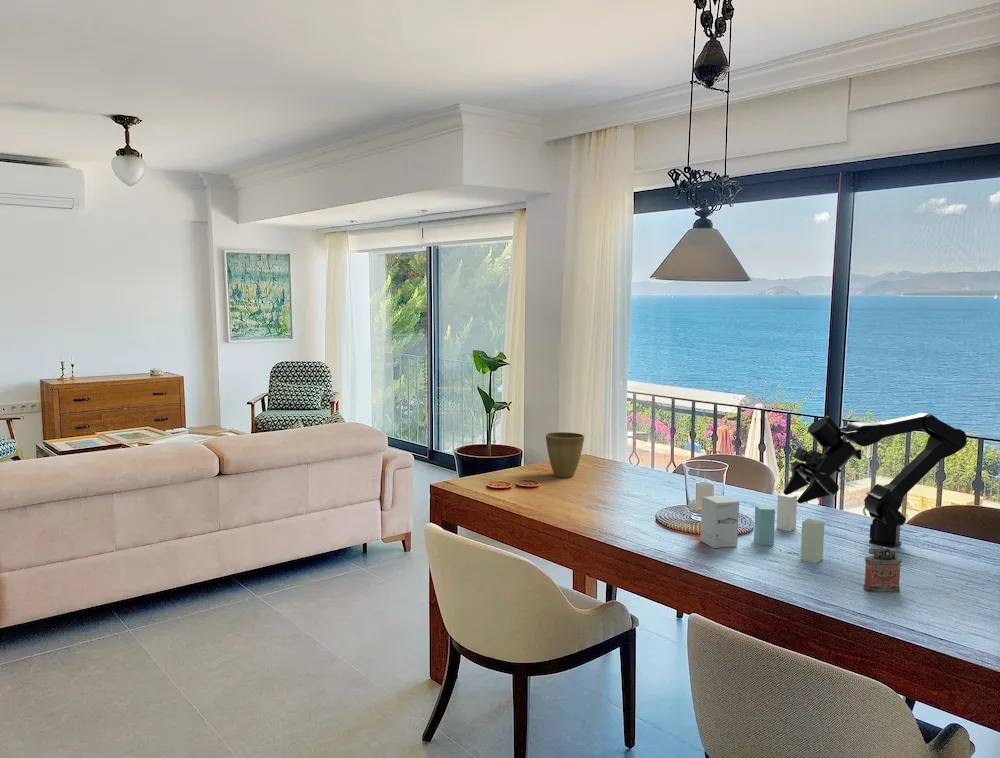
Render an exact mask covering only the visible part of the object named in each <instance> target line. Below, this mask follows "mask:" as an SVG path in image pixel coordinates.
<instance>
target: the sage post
mask: <svg viewBox="0 0 1000 758" xmlns="http://www.w3.org/2000/svg"><path fill="white" fill-rule="evenodd" d="M824 538H825V521H823V520H819V519H814V518H807V519H805V520H802V522H801V542H800V543H801V544H800V560H801V561H805V562H808V563H813V564H817V563H819V562H822V561H823V560H824V559H823V558H824V543H825V542H824V540H825V539H824Z"/></svg>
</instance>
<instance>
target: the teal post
mask: <svg viewBox="0 0 1000 758" xmlns="http://www.w3.org/2000/svg"><path fill="white" fill-rule="evenodd" d="M775 519H776V508H774V507H772V506H771V505H755V507H754V530H753V541H754V542H755V543H756V544H757V545H758V546H774V544H775V526H776V525H775V523H776V520H775Z"/></svg>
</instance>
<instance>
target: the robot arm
mask: <svg viewBox="0 0 1000 758" xmlns="http://www.w3.org/2000/svg"><path fill="white" fill-rule="evenodd" d="M921 430H922V431H923V432H924V433H925V434H927V436H929V437H928V438H927V440H926V441H927V442H926V445H925V447H924V449H922V451H920V453H919V454H918V455H917V456H916V457H915V458H913V459H912V460H911V462H909V463H908V464H907V466H905V467H904V468H903V469H902V470H901V471H900V472H899V473H898V474H897V475H896V476H895V477H894V478H893V479H892V480H891V481H890V482H889V483H888V484H885V485H882V484H880V483H877V484H874V486H873V488H872V489H871V490H869V491H868V492H866V496H865V498H864V500H863V501H864V508H865V510H867V512H868V514H869V516H870V517H871V518H873V519H872V523H871V524H870V525H869V527H870V528H869V540H868V542H869V543H872V544H876V545H881V546H883V547H889V548H896V547H897V546H899V545H900V544H902V540H900V537H901V526H904V524H905V522H906V519H907V518H906V517H905V515H903V514H902V512H901V511H900V508H901V507H902V504H903V500H904V498H905V496H906V495H908V492H910V491H911V490H912V489H913V488H914V487H915V486H916V485H917V484H918V483H919V482H920V481H921V480H922V479H923V478H924V477H925V476H926V475H927V474H928V473H929V472H930V471H931V470H933V468H934V467H935V466H937V464H938V463H939V462H940V461H941V460H943V459H945V458H947V457H951V456H952V455H955V454H956V453H958V452H959V451H960V450H962V449H963V448H965V446H967V443H968V438H967V434H966V432H965V431H964V430H963V429H960V428H956V427H953V426H951V425H949V424H947V423H945V421H943V420H940V419H939V418H937V417H936V416H934V415H933V414H930V413H926V412H918V413H917V414H912V415H908V416H902V417H898V418H894V419H887V420H883V421H879V422H877V421H875V422H873V421H872V422H871V421H859V422H858V421H855V422H854V421H853V422H851V423H848V424H847V425H846V426H840V427H839V426H838V425H837V424H836V423H835V422H834V420H833V418H831V416H828V415H824V417H823V418H820V419H818V420H816V421H814V422H811V424H810V425H809V426H808V428H807V432H808V434H809V435H810V436H812V437H813V439H814V440H815V441H816V442H817V443H818V444H819V445H820V447H821V448H825V447H827V448H826V450H825V451H824V452H823V453H822V452H818V451H816V450H814V449H810V450H805V449H804V448H802V447H799V446H797V448H796V450H795V452H794V453H793V456H792V457H793V458H794V459H796V460H794V461H793V462H792V463H791V464H790V470H791V477H790V478H789V481H788V483H787V485H786V486H785V489H784V490H783V493H784V494H785V495H788V494H792V493H794V492H796V491H798V490H800V489H802V488H804V487H806V486H807V487H806V489H805V490H804V491H803V492H802V494H800V496H799V497H797V504H800V505H801V504H803V503H807V502H810V501H812V500H816V499H820V498H823V497H826V496H827V497H829V496H831V495H832V496H834V495H835V494H837V493H838V491H839V488H840V486H839V484H838V483H837V482H836V481H835V480H834V479H833V478H832V476H833V475H834V474H835V473H838V474H840V473H841V472H842V469H841V468H842V467H843V466H844V465H845V464H846V463H847V462H848V461H849V460H850V459H851V458H855V459H856V460H862V449H860V448H858V447H855V446H854V445H853V444H855V445H856V446H860V447H869V446H871V445H874V444H876V443H878V442H880V441H881V440H882V439H883V440H884V439H885V438H887V437H892V436H898V435H903V434H907V433H911V432H916V431H917V432H918V431H921ZM843 438H844V439H846V441H845V440H844V439H843ZM808 485H809V486H808Z"/></svg>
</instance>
